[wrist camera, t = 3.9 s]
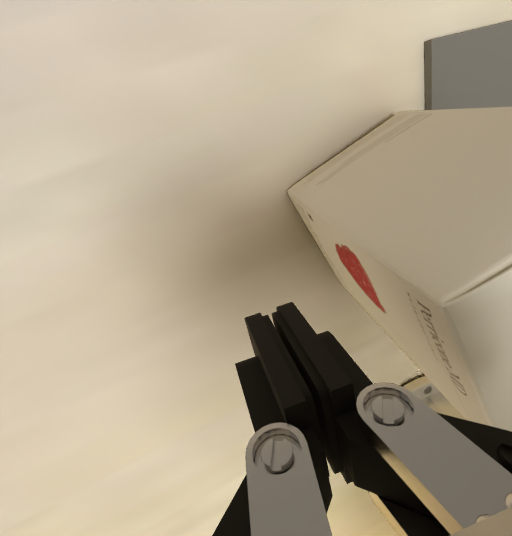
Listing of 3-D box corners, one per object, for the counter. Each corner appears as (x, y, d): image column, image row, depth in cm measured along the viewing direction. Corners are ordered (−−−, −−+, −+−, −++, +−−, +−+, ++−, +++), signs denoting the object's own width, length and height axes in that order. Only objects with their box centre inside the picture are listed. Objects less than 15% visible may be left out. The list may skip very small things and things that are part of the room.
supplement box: (281, 189, 21) (434, 303, 8) (400, 107, 20) (804, 74, 7) (340, 288, 25) (511, 479, 12) (442, 222, 24) (754, 345, 11)
